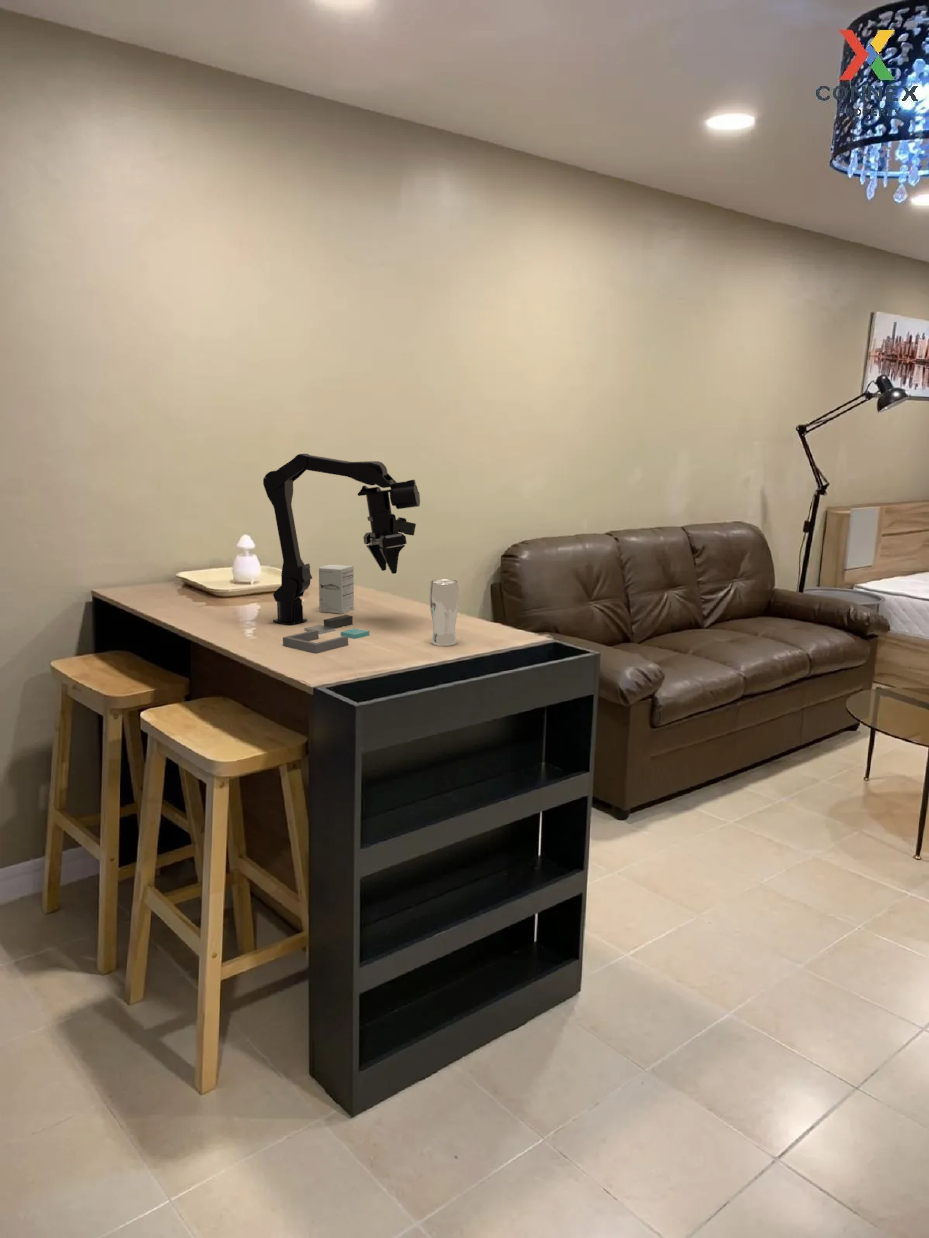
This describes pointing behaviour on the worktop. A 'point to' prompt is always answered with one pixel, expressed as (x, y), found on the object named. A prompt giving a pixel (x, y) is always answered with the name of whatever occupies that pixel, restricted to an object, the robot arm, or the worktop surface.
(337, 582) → the supplement box
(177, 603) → the worktop surface
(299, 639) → the corral
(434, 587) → the beer glass
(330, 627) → the turner
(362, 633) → the tile
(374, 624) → the worktop surface
